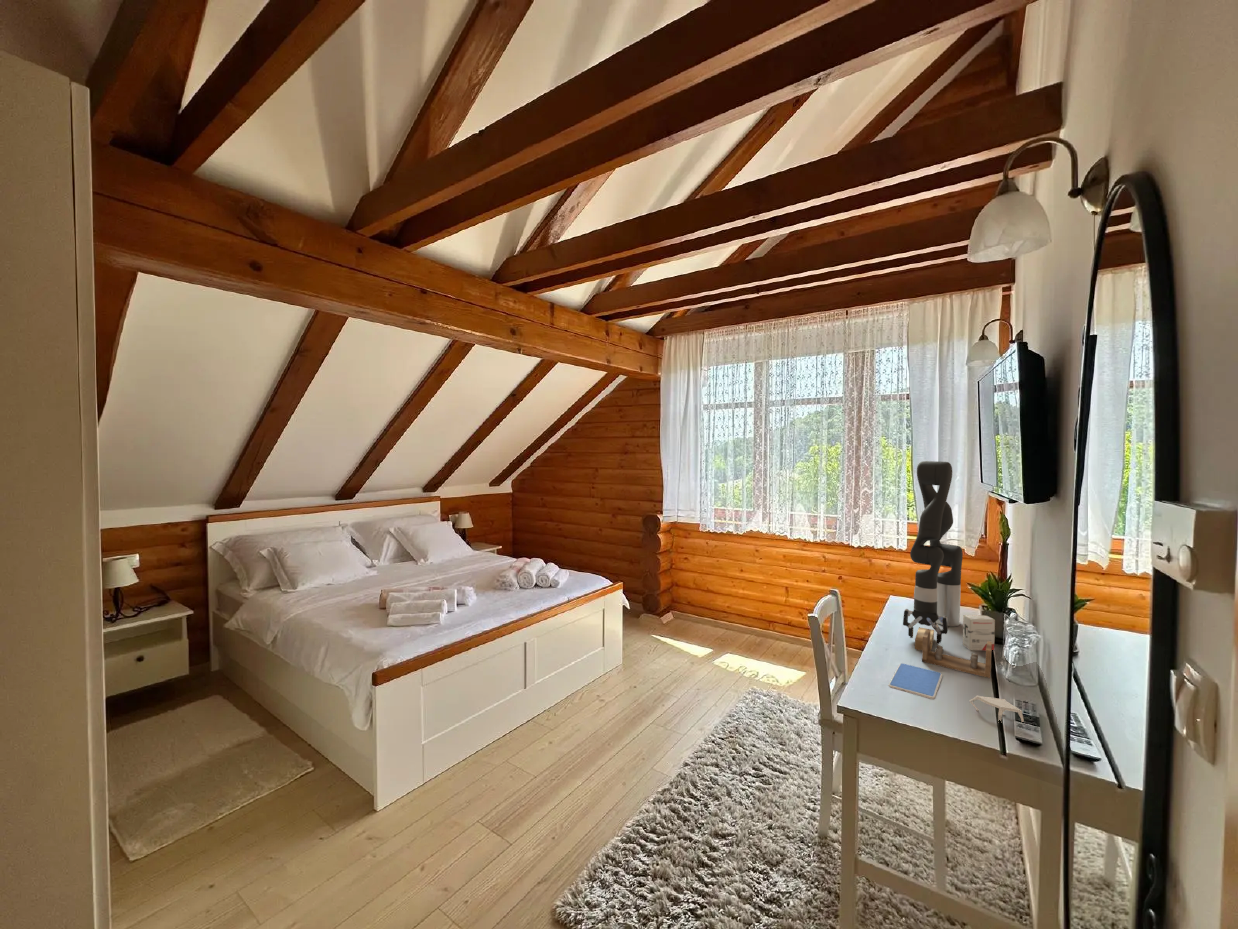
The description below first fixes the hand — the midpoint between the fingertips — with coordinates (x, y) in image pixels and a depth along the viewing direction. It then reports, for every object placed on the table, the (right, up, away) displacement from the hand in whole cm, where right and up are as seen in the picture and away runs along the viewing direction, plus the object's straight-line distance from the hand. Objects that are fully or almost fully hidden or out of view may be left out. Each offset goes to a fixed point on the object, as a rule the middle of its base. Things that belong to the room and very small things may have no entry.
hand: (924, 640), depth 187 cm
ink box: (+18, -2, -4) cm, 18 cm away
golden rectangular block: (0, -2, 0) cm, 2 cm away
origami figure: (-10, -5, -48) cm, 50 cm away
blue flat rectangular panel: (-20, -4, -27) cm, 34 cm away
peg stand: (0, -3, -17) cm, 17 cm away
